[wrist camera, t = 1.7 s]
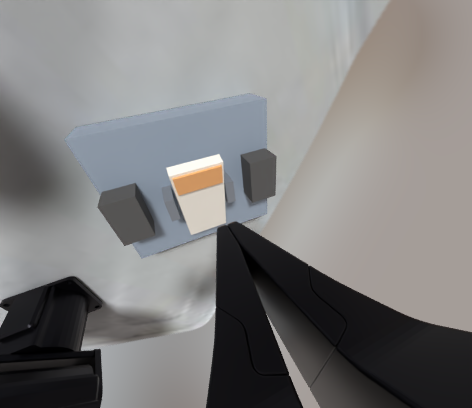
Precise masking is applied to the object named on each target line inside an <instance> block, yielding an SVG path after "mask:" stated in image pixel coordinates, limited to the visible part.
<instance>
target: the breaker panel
mask: <svg viewBox="0 0 472 408" xmlns="http://www.w3.org/2000/svg"><path fill="white" fill-rule="evenodd" d="M64 140H65V142H66V143H67V145H68V146H69V148H70V150H71V151H72V153H73V154H74V156H75V157H76V159H77V160H78V162H79V163H80V165H81V166H82V168H83V169H84V171H85V172H86V174H87V176H88V177H89V179H90V180H91V182H92V183H93V185H94V186H95V188H96V189H97V191H98V192H99V194H100V195H101V193H102V192H103V191H107V190H111V189H115V188H118V187H122V186H126V185H129V184H133V183H136V185H137V187H138V189H139V191H140V193H141V195H142V197H143V199H144V201H145V203H146V205H147V207H148V209H149V211H150V213H151V216H152V218H153V220H154V226H155V236H153V237H150V238H147V239H144V240H141V241H138V242H135V243H132V244H133V246H134V247H135V249H136V250H137V252H138V254H139V255H140V257H141V258H144V257H147V256H150V255H153V254H156V253H158V252H161V251H164V250H167V249H170V248H172V247H175V246H178V245H181V244H184V243H186V242H189V241H192V240H195V239H198V238H200V237H203V236H206V235H209V234H212V233H214V232H217V228H218V227H220V226H223V225H227V224H229V223H231V222H234V221H237V222H239V223H242V222H245V221H248V220H251V219H254V218H256V217H259V216H262V215H265V214H267V198H266V199H263V200H260V201H257V202H254V203H252V202H251V200H250V199H249V198H248V197H247V195H246V194H245V193H244V188H243V178H242V167H241V156H240V155H241V154H245V153H248V152H252V151H256V150H259V149H263V148H265V149H267V99H266V98H263V97H260V96H257V95H253V94H245V95H240V96H235V97H229V98H224V99H219V100H214V101H209V102H204V103H198V104H193V105H188V106H183V107H178V108H173V109H167V110H162V111H157V112H152V113H147V114H141V115H136V116H131V117H126V118H121V119H116V120H110V121H105V122H100V123H95V124H90V125H85V126H79V127H75V129H74V130H73V131H72V132H71V133H70V134H69V135H68V136H67V137H66V138H65V139H64ZM217 154H219V155H220V157H221V159H222V161H223V169H224V190H225V211H226V223H224V224H222V225H219V226H216V227H213V228H210V229H207V230H204V231H202V232H199V233H196V234H193V235H191V234H190V231H189V228H188V226H187V223H186V220H185V218H184V215H183V213H182V210H181V207H180V205H179V202H178V200H177V197H176V194H175V192H174V189H173V186H172V184H171V181H170V179H169V176H168V172H167V169H166V168H168V167H171V166H175V165H179V164H183V163H187V162H191V161H194V160H198V159H202V158H206V157H210V156H214V155H217Z"/></svg>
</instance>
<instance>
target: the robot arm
mask: <svg viewBox="0 0 472 408" xmlns="http://www.w3.org/2000/svg"><path fill="white" fill-rule="evenodd" d="M0 307H1V308H3V309H5V310H7V311H8V314H7V315H6V317H5V319H4V321H3V323H2V325H1V327H0V408H100V405H101V400H102V369H101V350H100V349H94V350H91V351H81V346H82V341H83V336H84V331H85V326H86V321H87V316H88V313H90V312H92V311H95V310H97V309H100V308H101V307H102V302H101V301H100V300H99V299H98V298H97V297H96V296H95V295H93V294H92V293H91V292H90V291H89V290H88V289H87V288H86V287H85V286H83V285H82V284H81V283H80V282H79V281H78V280H77V279H76V278H74V277H67V278H64V279H61V280H58V281H55V282H52V283H50V284H47V285H44V286H41V287H38V288H35V289H32V290H29V291H27V292H24V293H21V294H18V295H15V296H12V297H9V298H7V299H4V300H2V302H1V303H0ZM266 313H267V315H268V317H269V319H270V320H271V322H272V324H273V326H274V327H275V329H276V331H277V333H278V334H279V336H280V338H281V340H282V341H283V343H284V345H285V347H286V348H287V350H288V352H289V353H290V355H291V357H292V359H293V360H294V362H295V364H296V365H297V367H298V369H299V371H300V373H301V374H302V376H303V378H304V380H305V381H306V383H307V385H308V387H310V390H311V392H312V394H313V395H314V397H315V399H316V401H317V402H318V404H319V406H320V408H472V332H468V331H463V330H458V329H453V328H449V327H443V326H439V325H435V324H430V323H427V322H423V321H420V320H417V319H414V318H412V317H409V316H407V315H404V314H402V313H400V312H398V311H396V310H394V309H392V308H389V307H388V306H385V305H383V304H381V303H379V302H377V301H375V300H373V299H371V298H369V297H367V296H365V295H363V294H361V293H359V292H357V291H355V290H353V289H351V288H349V287H347V286H345V285H343V284H341V283H339V282H337V281H335V280H334V279H332V278H330V277H328V276H327V275H325V274H323V273H321V272H320V271H318V270H316V269H315V268H313V267H312V266H309V267H308V264H306V263H305V262H303V261H301V260H300V259H298V258H296V257H295V256H293V255H292V254H290V253H288V252H286V251H285V250H283V249H282V248H280V247H278V246H277V245H275V244H273V243H271V242H270V241H269V240H267V239H265V238H264V237H262V236H260V235H259V234H257V233H255V232H254V231H252V230H250V229H249V228H247V227H245V226H244V225H242V224H241V223H239V222H237V221H234V222H231V223H229V224H227V225H223V226H220V227H218V228H217V261H216V311H215V339H214V349H213V358H212V367H211V374H210V382H209V389H208V397H207V404H206V408H303V406H302V404H301V401H300V399H299V397H298V395H297V392H296V390H295V387H294V385H293V382H292V380H291V377H290V376H289V372H288V369H287V367H286V364H285V362H284V359H283V356H282V354H281V351H280V348H279V346H278V343H277V341H276V338H275V336H274V333H273V330H272V328H271V325H270V323H269V320H268V317H267V315H266Z"/></svg>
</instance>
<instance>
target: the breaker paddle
mask: <svg viewBox="0 0 472 408" xmlns="http://www.w3.org/2000/svg"><path fill="white" fill-rule="evenodd" d="M166 169H167V172H168V176H169V179H170V181H171V184H172V186H173V189H174V192H175V194H176V197H177V200H178V202H179V205H180V207H181V210H182V213H183V215H184V218H185V220H186V223H187V226H188V228H189V231H190V234H191V235H193V234H196V233H199V232H202V231H204V230H207V229H210V228H213V227H216V226H219V225H222V224H224V223H226V211H225V190H224V169H223V161H222V159H221V157H220V155H219V154H217V155H214V156H210V157H206V158H202V159H198V160H194V161H191V162H187V163H183V164H179V165H175V166H171V167H168V168H166Z"/></svg>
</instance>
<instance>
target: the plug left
mask: <svg viewBox="0 0 472 408" xmlns="http://www.w3.org/2000/svg"><path fill="white" fill-rule="evenodd" d="M98 209H99V210H100V211H101V213H102V214H103V216H104V217H105V219H106V220H107V221H108V223H109V224H110V226H111V227H112V229H113V230H114V231H115V233H116V234H117V236H118V237H119V239H120V240H121V242H122V243H123V244H124V246H126V245H129V244H132V243H135V242H138V241H141V240H144V239H147V238H150V237H153V236H155V226H154V220H153V218H152V216H151V213H150V211H149V209H148V207H147V205H146V203H145V201H144V199H143V197H142V195H141V193H140V191H139V189H138V187H137V185H136V183H133V184H129V185H126V186H122V187H118V188H115V189H111V190H107V191H103V192H102V193H101V196H100V200H99V204H98Z"/></svg>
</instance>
